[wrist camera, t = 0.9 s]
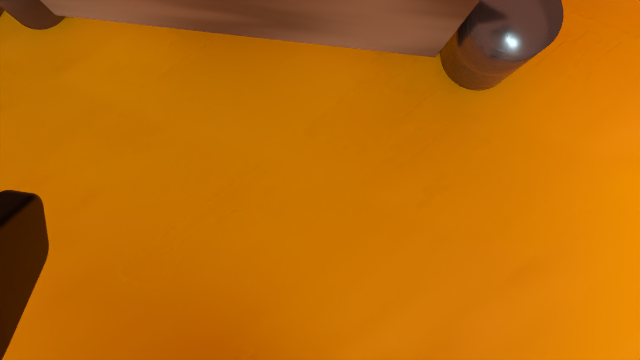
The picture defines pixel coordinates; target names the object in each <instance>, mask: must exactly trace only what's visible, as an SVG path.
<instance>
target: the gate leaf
mask: <svg viewBox="0 0 640 360" xmlns="http://www.w3.org/2000/svg"><path fill="white" fill-rule="evenodd" d="M479 1H480V0H0V7H1V8H2V9H4V10H5V11H6V12H7V13H9V14H10V15H11V16H12V17H14V18H15V19H16V20H17V21H19V22H20V23H21V24H23V25H24V26H26V27H28V28H31V29H38V30H42V29H48V28H51V27H53V26H55V25H57V24H58V23H60V22H61V21H62V20H63V19H64V17H65V16H68V17H77V18H86V19H95V20H104V21H113V22H122V23H131V24H140V25H149V26H158V27H167V28H176V29H185V30H194V31H203V32H212V33H221V34H230V35H239V36H248V37H257V38H266V39H275V40H284V41H293V42H302V43H311V44H320V45H329V46H338V47H347V48H356V49H365V50H374V51H383V52H392V53H401V54H410V55H419V56H428V57H436V56H437V54H438V53H439V52H440V51H441V49H442V48H443V47H444V45H445V44H446V43H447V42H448V40H449V39H450V38H451V37H452V35H453V34H454V33H455V31H456V30H457V29H458V28H459V26H460V25H461V24H462V23H463V21H464V20H465V19H466V17H467V16H468V15H469V14H470V12H471V11H472V10H473V9H474V7H475V6H476V5H477V3H478V2H479Z"/></svg>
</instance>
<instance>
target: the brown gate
mask: <svg viewBox="0 0 640 360" xmlns="http://www.w3.org/2000/svg"><path fill="white" fill-rule="evenodd" d="M3 11H4V9H2V8H1V7H0V16H1V15H2V13H3ZM562 22H563V6H562V2H561V0H480V1H479V2H478V3H477V5H476V6H475V7H474V9H473V10H472V11H471V12H470V14H469V15H468V16H467V17H466V19H465V20H464V21H463V23H462V24H461V25H460V26H459V28H458V29H457V30H456V31H455V33H454V34H453V35H452V37H451V38H450V39H449V40H448V42H447V43H446V44H445V45H444V47H443V48H442V49H441V62H442V65H443V68H444V70H445V72H446V73H447V75H448V76H449V77H450V78H451V80H452V81H454V82H455V83H456V84H458V85H459V86H461V87H464V88H466V89H470V90H485V89H489V88H492V87H494V86H495V85H497V84H498V83H500V82H501V81H502V80H504V79H505V78H506V77H508V76H509V75H510V74H512V73H513V72H514V71H516V70H517V69H518V68H520V67H521V66H522V65H523V64H525V63H526V62H527V61H529V60H530V59H531V58H533V57H534V56H535V55H537V54H538V53H539V52H541V51H542V50H543V49H545V48H546V47H547V46H549V45H550V44H551V43H552V42H553V41H554V39H555V38H556V37H557V35H558V33H559V31H560V29H561V26H562Z"/></svg>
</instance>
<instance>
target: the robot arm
mask: <svg viewBox="0 0 640 360" xmlns="http://www.w3.org/2000/svg"><path fill="white" fill-rule="evenodd" d="M48 249H49V242H48V235H47V228H46V221H45V214H44V207H43V203H42V200H41V198H40V197H39V196H38V195H36V194H34V193H27V192H20V191H14V190H5V191H2V192H0V360H2V359H3V356H4V354H5V352H6V350H7V348H8V346H9V344H10V341H11V339H12V337H13V334H14V332H15V330H16V328H17V325H18V323H19V321H20V319H21V316H22V314H23V312H24V309H25V307H26V305H27V303H28V300H29V298H30V296H31V294H32V291H33V289H34V287H35V284H36V282H37V280H38V278H39V275H40V273H41V271H42V269H43V266H44V264H45V262H46V259H47V255H48Z"/></svg>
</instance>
